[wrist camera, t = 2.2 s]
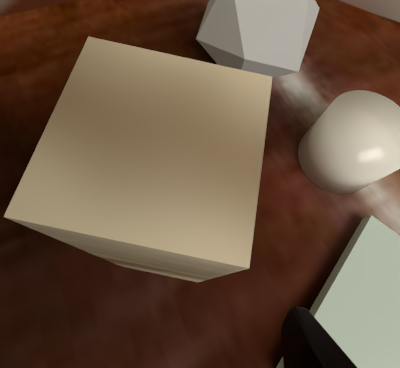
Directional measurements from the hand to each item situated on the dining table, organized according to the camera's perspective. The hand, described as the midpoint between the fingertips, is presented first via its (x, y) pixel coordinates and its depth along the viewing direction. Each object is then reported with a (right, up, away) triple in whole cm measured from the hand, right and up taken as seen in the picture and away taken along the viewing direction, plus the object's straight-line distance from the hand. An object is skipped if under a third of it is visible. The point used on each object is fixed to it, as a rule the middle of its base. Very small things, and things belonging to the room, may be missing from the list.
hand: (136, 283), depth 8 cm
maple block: (0, -1, +11) cm, 11 cm away
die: (+6, +14, +17) cm, 22 cm away
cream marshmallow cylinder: (+13, +5, +14) cm, 19 cm away
